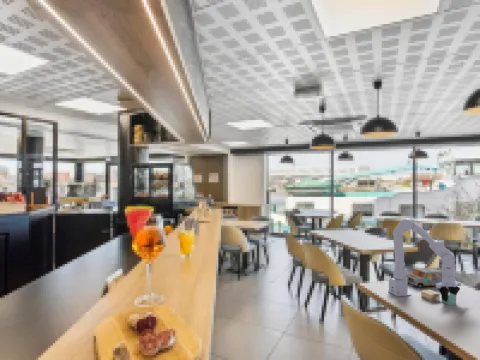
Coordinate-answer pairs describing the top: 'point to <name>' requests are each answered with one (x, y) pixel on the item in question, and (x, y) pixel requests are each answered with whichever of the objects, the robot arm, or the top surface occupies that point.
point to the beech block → (430, 295)
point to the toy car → (425, 277)
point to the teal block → (450, 299)
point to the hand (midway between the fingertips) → (448, 300)
